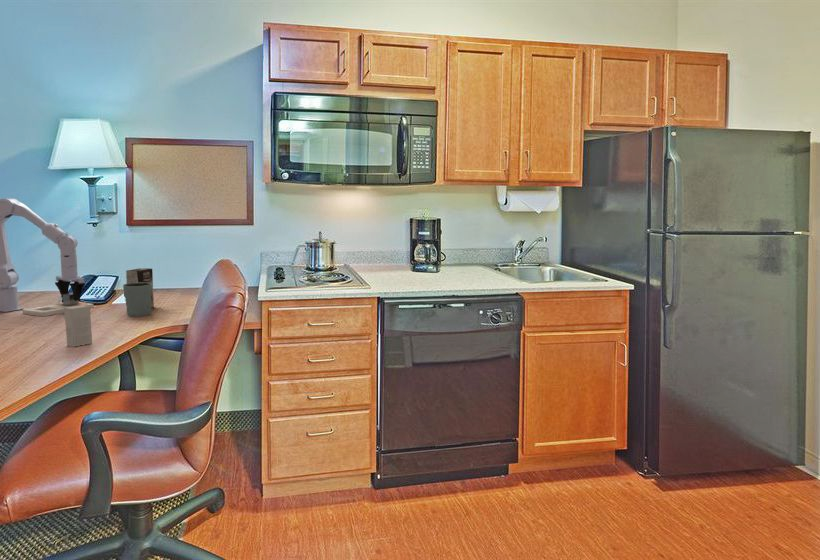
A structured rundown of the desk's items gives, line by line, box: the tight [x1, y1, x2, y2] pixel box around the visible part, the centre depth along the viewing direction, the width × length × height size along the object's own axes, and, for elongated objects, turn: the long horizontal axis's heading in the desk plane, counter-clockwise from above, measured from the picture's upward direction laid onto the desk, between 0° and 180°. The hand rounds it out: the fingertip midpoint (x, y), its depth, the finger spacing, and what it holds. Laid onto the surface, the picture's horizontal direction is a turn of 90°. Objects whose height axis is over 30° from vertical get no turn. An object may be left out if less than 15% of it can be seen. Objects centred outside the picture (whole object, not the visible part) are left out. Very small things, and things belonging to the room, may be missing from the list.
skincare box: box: [64, 305, 93, 348], centre depth 202 cm, size 6×4×12 cm
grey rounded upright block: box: [122, 282, 152, 318], centre depth 252 cm, size 10×10×12 cm
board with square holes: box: [21, 301, 94, 317], centre depth 259 cm, size 12×22×2 cm, turn 154°
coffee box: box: [125, 267, 155, 309], centre depth 264 cm, size 9×6×16 cm
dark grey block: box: [62, 292, 80, 306], centre depth 263 cm, size 4×4×6 cm
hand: (71, 299), depth 263 cm, fingers open, 7 cm apart
